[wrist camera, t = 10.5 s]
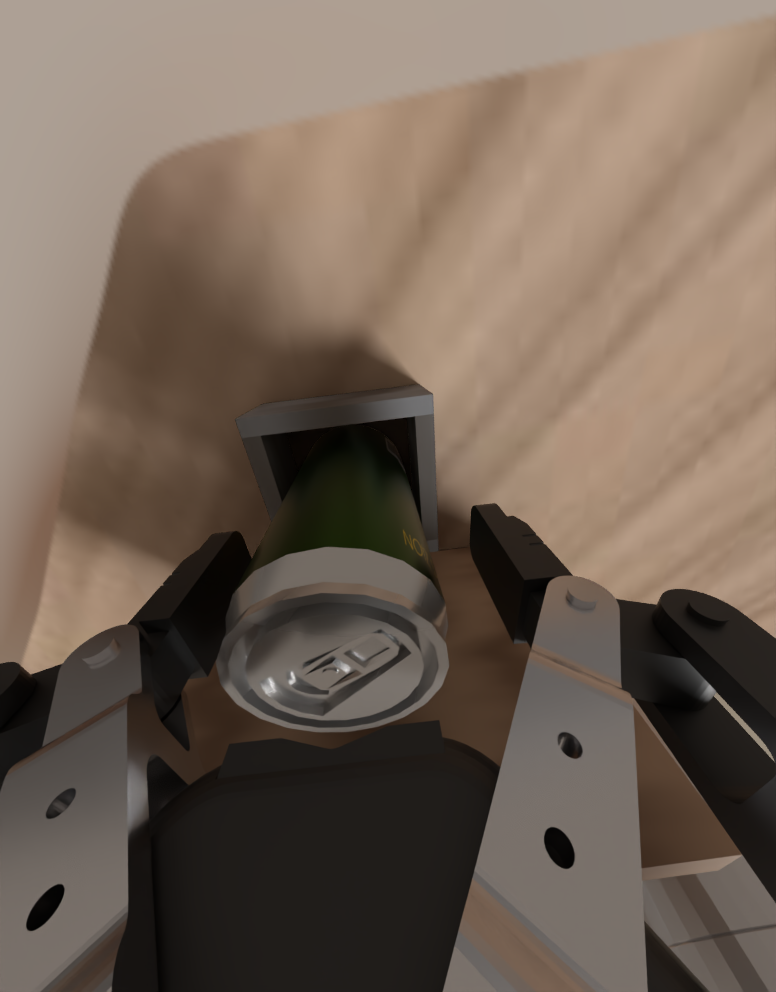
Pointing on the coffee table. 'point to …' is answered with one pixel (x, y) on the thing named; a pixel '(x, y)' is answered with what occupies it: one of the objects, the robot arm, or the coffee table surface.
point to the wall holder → (450, 643)
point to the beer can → (339, 597)
